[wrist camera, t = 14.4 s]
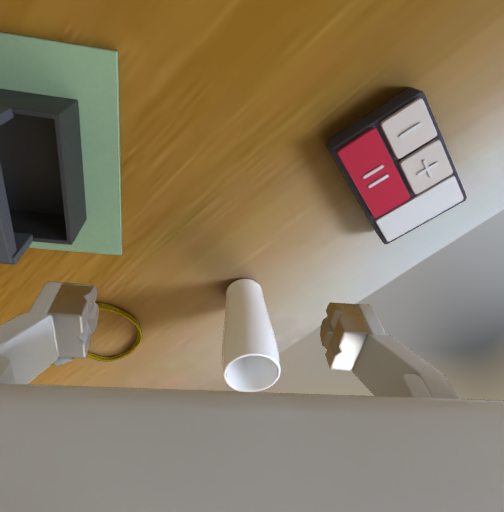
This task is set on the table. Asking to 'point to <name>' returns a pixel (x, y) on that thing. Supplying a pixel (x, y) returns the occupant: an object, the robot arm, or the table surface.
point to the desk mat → (91, 123)
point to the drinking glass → (248, 339)
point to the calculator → (398, 165)
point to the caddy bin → (39, 172)
